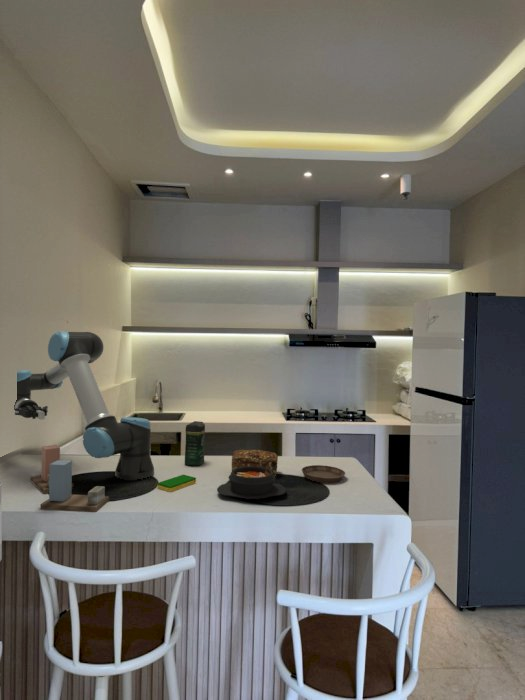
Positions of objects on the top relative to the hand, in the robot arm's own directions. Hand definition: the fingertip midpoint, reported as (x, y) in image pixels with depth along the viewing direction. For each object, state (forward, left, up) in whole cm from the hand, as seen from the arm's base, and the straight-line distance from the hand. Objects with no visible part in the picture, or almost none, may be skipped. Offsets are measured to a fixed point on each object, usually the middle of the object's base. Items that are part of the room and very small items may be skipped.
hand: (42, 416), depth 179 cm
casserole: (-84, +9, -24) cm, 88 cm away
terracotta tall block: (-8, +8, -22) cm, 25 cm away
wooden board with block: (-27, +27, -24) cm, 45 cm away
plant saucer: (-111, -15, -24) cm, 114 cm away
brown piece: (-8, +8, -24) cm, 27 cm away
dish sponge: (-55, +3, -25) cm, 60 cm away
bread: (-83, -16, -24) cm, 88 cm away
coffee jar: (-55, -27, -24) cm, 66 cm away
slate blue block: (-22, +27, -22) cm, 41 cm away
